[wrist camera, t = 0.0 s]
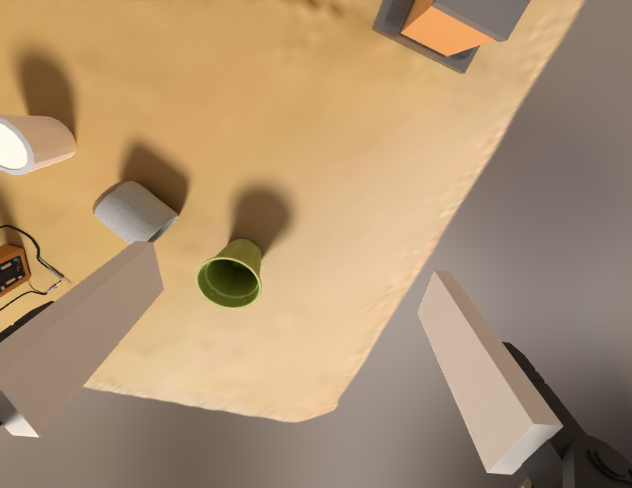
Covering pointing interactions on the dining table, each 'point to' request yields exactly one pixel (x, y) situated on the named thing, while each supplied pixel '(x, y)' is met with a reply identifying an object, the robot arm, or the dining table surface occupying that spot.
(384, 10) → the gray canister tray
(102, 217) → the ceramic mug
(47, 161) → the tan white cylinder
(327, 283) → the dining table surface
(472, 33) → the orange tall block
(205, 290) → the plant pot
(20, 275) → the multimeter
